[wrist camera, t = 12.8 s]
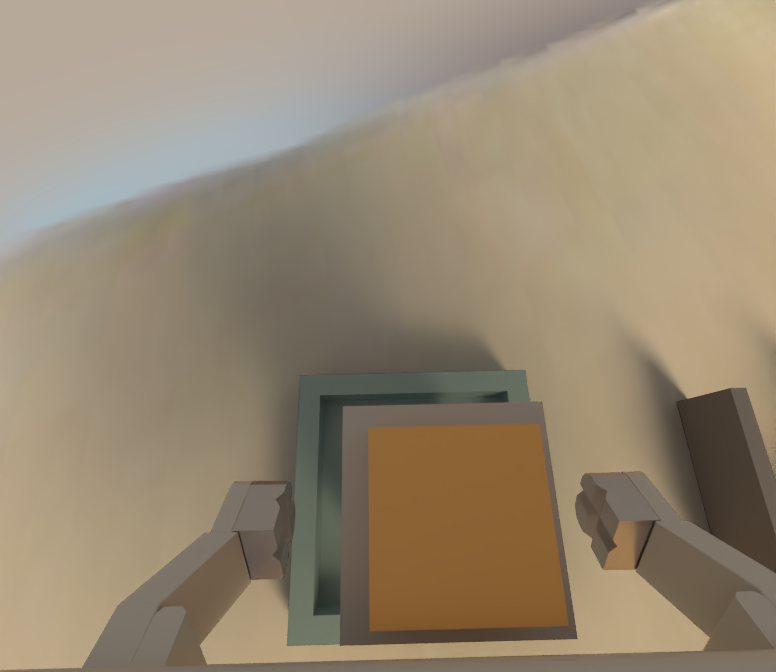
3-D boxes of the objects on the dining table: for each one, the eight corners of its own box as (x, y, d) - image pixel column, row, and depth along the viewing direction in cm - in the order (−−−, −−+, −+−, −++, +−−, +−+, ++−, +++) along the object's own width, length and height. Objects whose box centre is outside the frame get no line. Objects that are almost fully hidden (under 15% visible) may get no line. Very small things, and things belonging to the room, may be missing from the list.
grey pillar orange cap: (465, 437, 20) (567, 389, 9) (475, 550, 18) (616, 672, 7) (365, 440, 20) (335, 395, 9) (366, 552, 18) (329, 680, 7)
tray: (512, 379, 22) (525, 369, 20) (543, 619, 18) (562, 638, 16) (308, 384, 21) (300, 375, 20) (298, 626, 18) (287, 645, 16)
